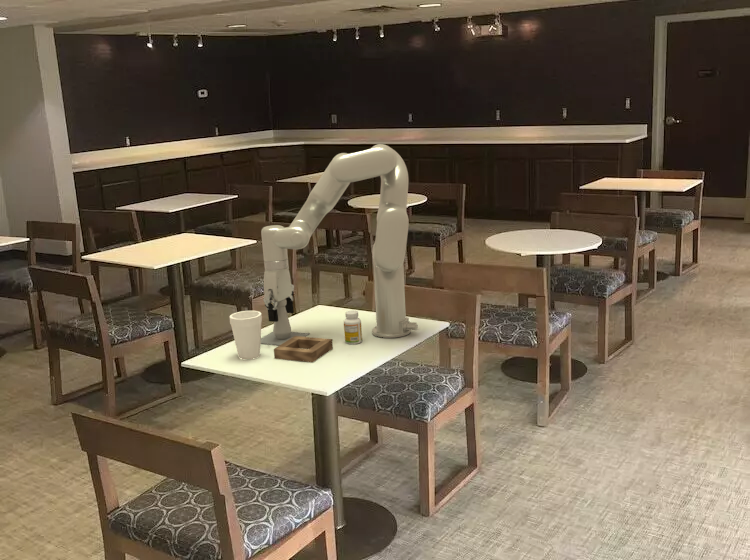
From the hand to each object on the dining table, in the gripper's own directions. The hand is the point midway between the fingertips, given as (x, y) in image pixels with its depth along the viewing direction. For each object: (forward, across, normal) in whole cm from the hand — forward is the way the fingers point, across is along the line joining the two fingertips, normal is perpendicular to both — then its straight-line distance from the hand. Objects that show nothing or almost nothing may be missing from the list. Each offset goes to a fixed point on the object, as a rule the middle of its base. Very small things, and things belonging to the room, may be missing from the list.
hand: (281, 316), depth 245 cm
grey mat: (+7, 0, 0) cm, 7 cm away
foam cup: (+7, +18, -2) cm, 19 cm away
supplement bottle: (+8, -3, +24) cm, 25 cm away
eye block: (+7, +11, +14) cm, 19 cm away
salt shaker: (+7, 0, 0) cm, 7 cm away
